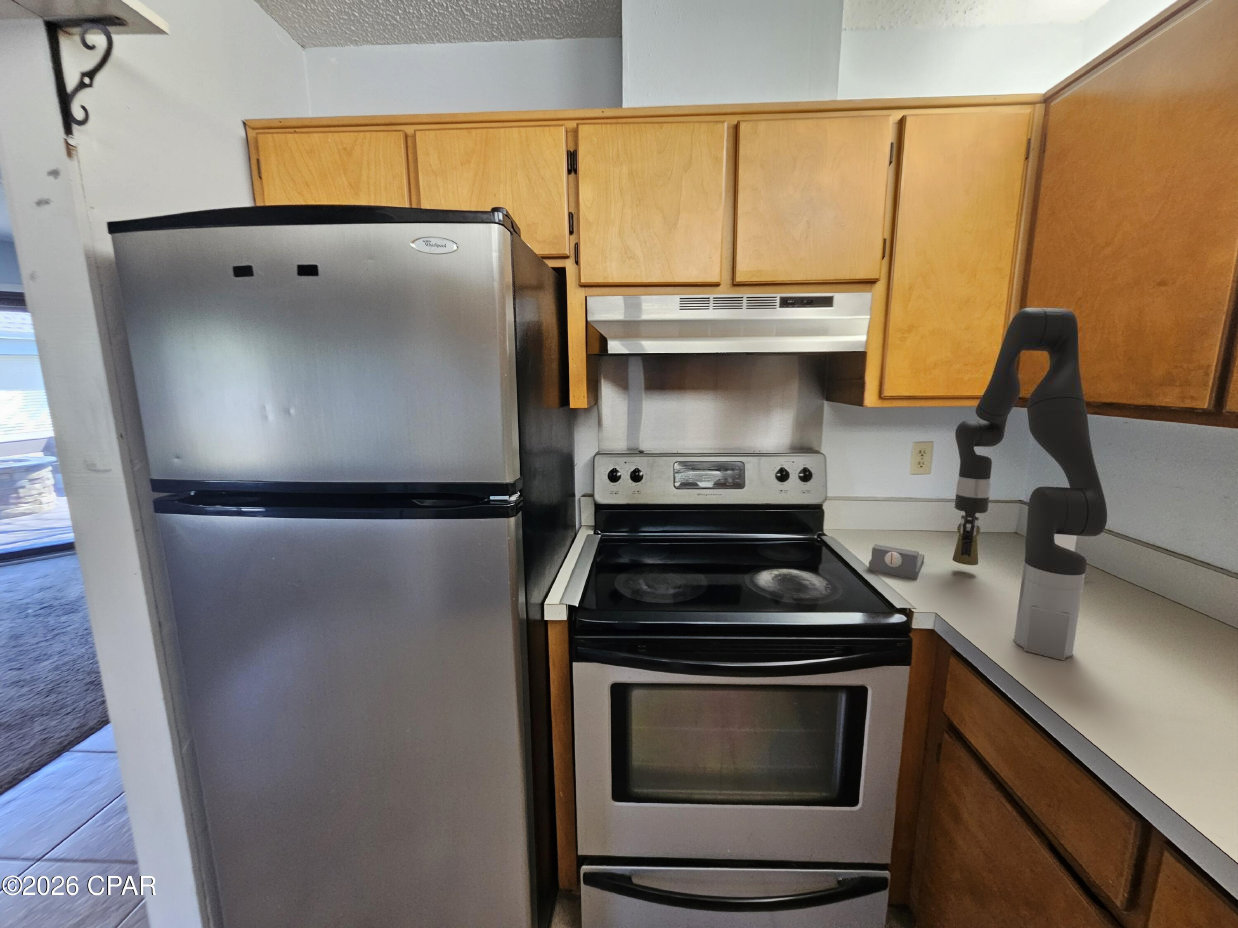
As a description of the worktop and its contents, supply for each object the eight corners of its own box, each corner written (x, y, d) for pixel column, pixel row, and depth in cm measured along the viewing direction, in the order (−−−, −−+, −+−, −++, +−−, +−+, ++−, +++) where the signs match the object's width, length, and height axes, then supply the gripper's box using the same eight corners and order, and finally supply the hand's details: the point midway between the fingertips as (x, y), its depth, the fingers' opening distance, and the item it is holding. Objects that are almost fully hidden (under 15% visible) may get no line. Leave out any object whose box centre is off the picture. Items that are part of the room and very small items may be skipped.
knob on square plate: (916, 580, 136) (918, 556, 134) (868, 570, 143) (869, 547, 141) (923, 562, 149) (925, 540, 147) (879, 554, 156) (880, 533, 154)
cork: (953, 563, 138) (957, 524, 136) (950, 556, 143) (954, 519, 142) (980, 566, 135) (984, 527, 134) (976, 559, 141) (980, 521, 139)
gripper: (989, 500, 128) (982, 564, 131) (989, 490, 140) (983, 549, 142) (954, 496, 133) (948, 558, 136) (957, 487, 144) (951, 544, 147)
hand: (966, 553), depth 139 cm, fingers closed on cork, 3 cm apart
